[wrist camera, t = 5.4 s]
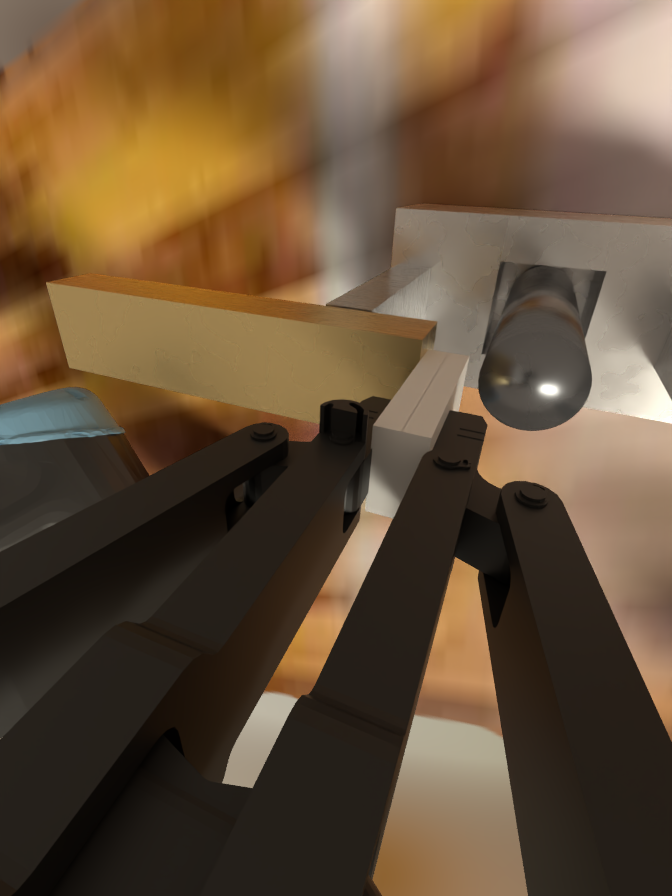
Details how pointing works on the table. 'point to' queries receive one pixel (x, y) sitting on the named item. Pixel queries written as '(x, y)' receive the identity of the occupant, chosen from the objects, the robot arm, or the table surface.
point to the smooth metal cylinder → (537, 354)
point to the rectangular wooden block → (235, 344)
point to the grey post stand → (520, 249)
